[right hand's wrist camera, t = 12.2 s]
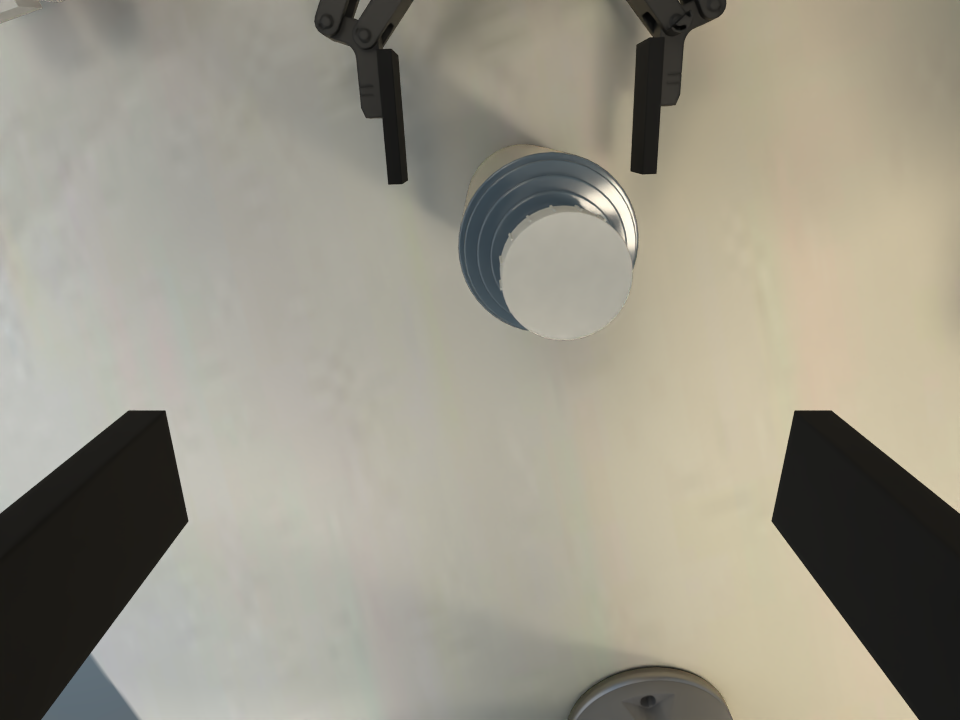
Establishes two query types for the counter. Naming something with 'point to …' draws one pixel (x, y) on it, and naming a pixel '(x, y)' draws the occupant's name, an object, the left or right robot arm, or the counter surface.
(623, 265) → the cap
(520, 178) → the bottle
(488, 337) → the counter surface
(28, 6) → the toy
